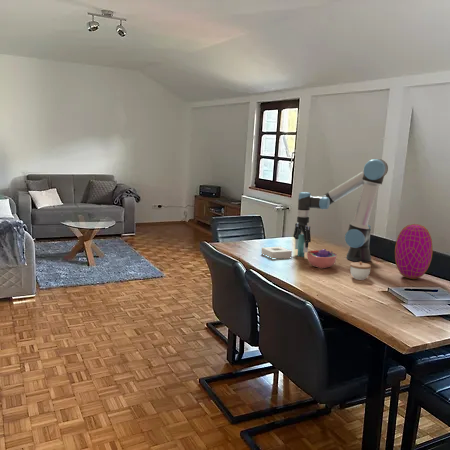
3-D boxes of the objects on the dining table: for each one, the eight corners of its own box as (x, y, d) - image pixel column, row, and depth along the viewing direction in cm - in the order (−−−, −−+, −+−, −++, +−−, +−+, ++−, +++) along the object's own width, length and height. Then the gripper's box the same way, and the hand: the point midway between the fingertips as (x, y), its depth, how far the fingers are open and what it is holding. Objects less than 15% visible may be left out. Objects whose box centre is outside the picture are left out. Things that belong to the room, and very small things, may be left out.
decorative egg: (431, 277, 264) (437, 224, 260) (426, 285, 248) (432, 229, 243) (396, 271, 274) (401, 220, 269) (389, 278, 257) (394, 224, 252)
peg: (305, 256, 304) (306, 235, 302) (299, 257, 302) (301, 235, 300) (301, 255, 308) (303, 234, 306) (296, 255, 306) (297, 234, 304)
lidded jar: (358, 282, 249) (360, 264, 248) (345, 276, 259) (346, 260, 257) (373, 280, 254) (375, 263, 253) (359, 274, 263) (361, 258, 262)
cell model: (333, 263, 287) (334, 245, 285) (337, 272, 268) (339, 252, 266) (305, 262, 289) (306, 244, 287) (307, 270, 269) (309, 251, 267)
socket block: (291, 257, 299) (291, 251, 298) (272, 259, 293) (272, 252, 292) (280, 253, 311) (280, 246, 311) (261, 254, 306) (261, 247, 305)
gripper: (289, 214, 309) (287, 247, 313) (308, 219, 289) (305, 254, 293) (298, 213, 312) (296, 246, 316) (318, 218, 292) (315, 254, 296)
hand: (301, 250), depth 304 cm, fingers open, 9 cm apart
